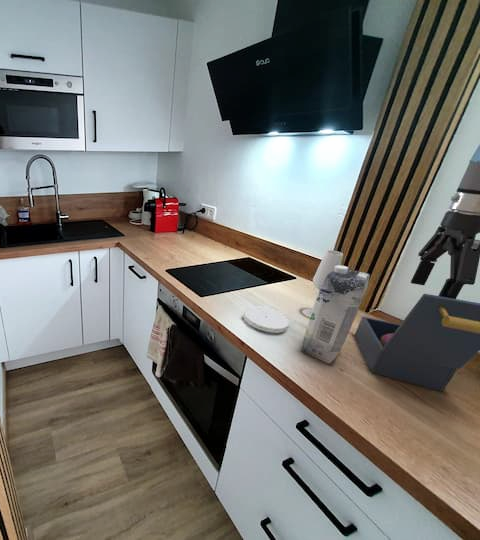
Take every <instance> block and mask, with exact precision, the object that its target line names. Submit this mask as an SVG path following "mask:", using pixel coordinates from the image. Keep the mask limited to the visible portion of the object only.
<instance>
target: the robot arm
mask: <svg viewBox="0 0 480 540" xmlns="http://www.w3.org/2000/svg"><path fill="white" fill-rule="evenodd" d="M448 209H450V210H447V211H445V213H444V214H443V216H442V217H443V218H442V219H441V220H440V221H441V222H440V225H439V226H438V227H437V229H436V231H435V232H434V234H433V235H432V236H431V238H430V239H429V240H428V241H427V242H426V243H425V245H424V246H423V247H422V248H421V249H420V251H418V254H417V256H418V257H420V258H419V260H420V261H419V264H418V265H417V268H416V270H415V272H414V274H413V276H412V278H411V280H410V284H412V285H413V284H414V285H420V286H425V285H426V283H427V281H428V279H429V277H430V275H431V274H432V271H433V269H434V267H435V265H436V263H437V262H438V259H439V258H440V257H442V256H443V255H444V254H446V253H447V255H448V256H450V265H449V266H450V267H449V268H450V271H449V273H450V274H449V278H446V279H445V283H444V284H443V286H442V287H441V290H440V292H439V294H438V295H437V296H441V297H447V298H453V299H457V297H458V296H459V294H460V292H461V290H462V289H463V287H464V286H465V285H469V286H473V285H475V283H476V278H477V273H478V270H479V269H478V268H479V264H480V239H476V236H477V235H478V234H480V144H479V145H478V146H477V148H476V150H475V151H474V153H473V155H472V156H471V158H470V159H469V162H468V165H467V167H466V170H465V172H464V174H463V176H462V178H461V180H460V182H459V185H458V187H457V188H456V191H455V193H454V195H452V196H450V204H449V206H448Z"/></svg>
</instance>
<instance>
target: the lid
mask: <svg viewBox="0 0 480 540" xmlns="http://www.w3.org/2000/svg"><path fill="white" fill-rule="evenodd" d="M399 324H400V326H399V327H398V328H397V330H396V331H395V332H394V334H393V335H392V336H391V338H390V339H389V340H388V342H387V343H386V344H385V346H384V347H383V348H382V349H383V351H387V352H391V353H395V354H399V355H403V356H407V357H411V358H416V359H420V360H424V361H428V362H432V363H436V364H440V365H444V366H448V367H452V368H456V369H457V370H460V369H461V368H462V367H464V365H466V364H467V363H468V362H469V361H470V360H471V359H472V358H473V357H475V356H476V355H477V354H478V353H479V352H480V302H475V301H469V300H464V299H457V298H456V299H453V298H447V297H441V296H438V295H435V294H431V293H430V294H429V293H423V294H422V296H421V297H420V298H419V300H418V301H417V302H416V303H415V305H414V306H413V307H412V309H411V310H410V311H409V312H408V314H406V317H404V319H403V321H402V322H401V323H399Z"/></svg>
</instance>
